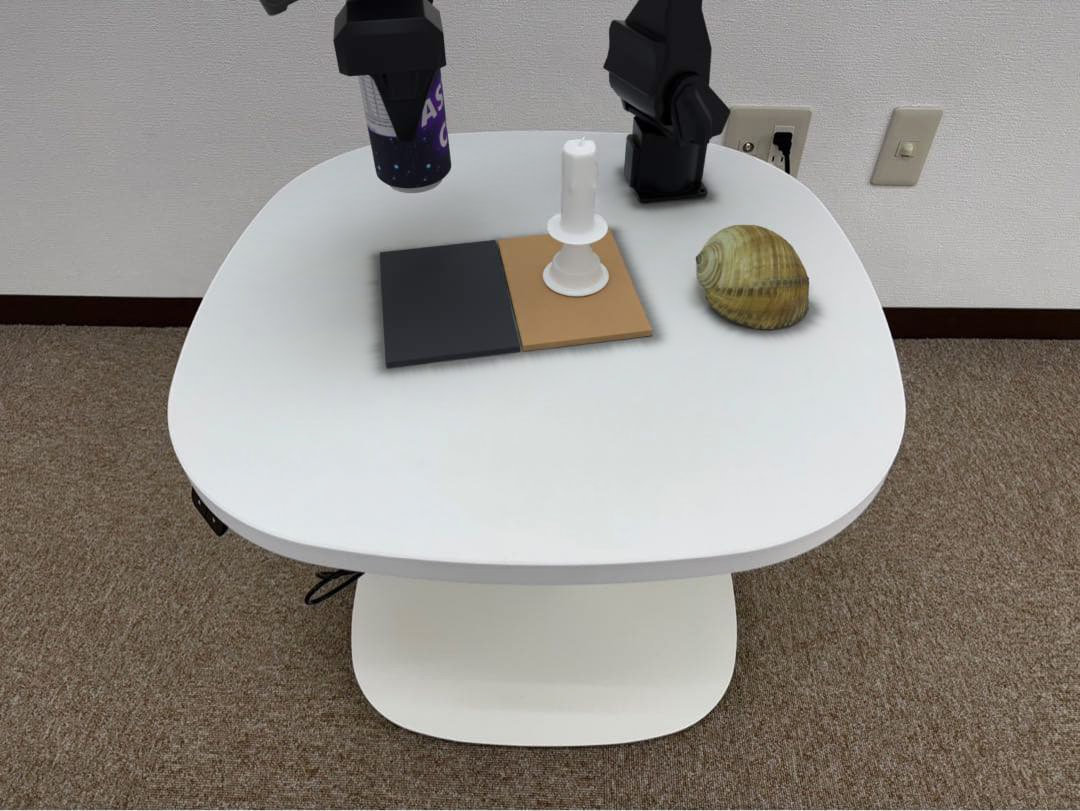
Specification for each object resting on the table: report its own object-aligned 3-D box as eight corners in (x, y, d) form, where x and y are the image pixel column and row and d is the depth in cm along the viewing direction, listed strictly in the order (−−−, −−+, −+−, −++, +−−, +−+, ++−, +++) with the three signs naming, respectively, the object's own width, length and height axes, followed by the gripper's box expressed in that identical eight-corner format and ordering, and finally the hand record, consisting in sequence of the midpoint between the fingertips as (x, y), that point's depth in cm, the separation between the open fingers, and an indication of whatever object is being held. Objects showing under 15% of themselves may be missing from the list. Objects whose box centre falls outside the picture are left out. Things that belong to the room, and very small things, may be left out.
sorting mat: (609, 233, 70) (609, 227, 70) (651, 335, 61) (652, 329, 60) (380, 257, 68) (379, 251, 68) (386, 368, 58) (385, 362, 58)
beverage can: (439, 202, 59) (417, 34, 50) (366, 194, 60) (333, 28, 51) (461, 163, 62) (445, 1, 54) (393, 157, 63) (366, -4, 55)
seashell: (784, 332, 67) (792, 235, 66) (831, 333, 60) (841, 225, 59) (675, 325, 65) (682, 225, 64) (711, 325, 58) (720, 213, 57)
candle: (583, 250, 67) (587, 114, 59) (622, 282, 64) (633, 143, 56) (530, 272, 65) (527, 134, 57) (567, 306, 62) (570, 165, 54)
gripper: (244, -165, 52) (298, 74, 63) (204, -83, 39) (281, 198, 50) (415, -172, 53) (439, 63, 64) (431, -95, 40) (457, 183, 51)
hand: (404, 120), depth 58 cm, fingers closed on beverage can, 6 cm apart
